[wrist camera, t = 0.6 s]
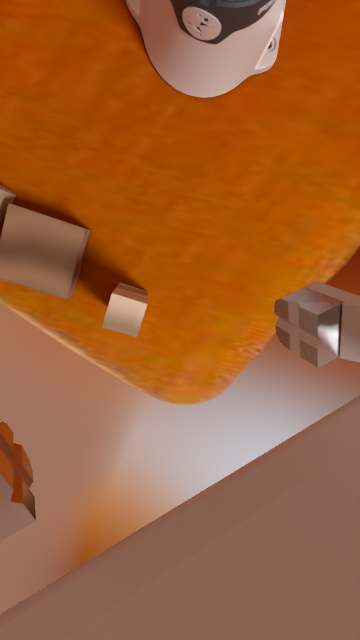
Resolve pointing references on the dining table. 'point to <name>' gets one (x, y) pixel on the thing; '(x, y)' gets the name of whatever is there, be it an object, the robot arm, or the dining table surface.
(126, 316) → the oak post
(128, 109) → the dining table surface
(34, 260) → the light tan slab
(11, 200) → the box
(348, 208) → the dining table surface
